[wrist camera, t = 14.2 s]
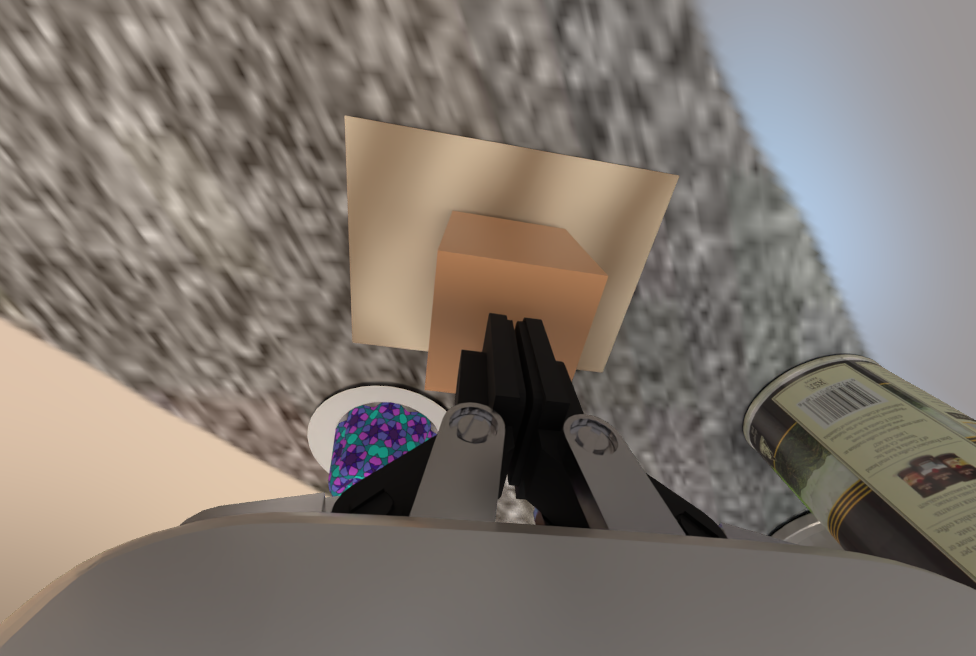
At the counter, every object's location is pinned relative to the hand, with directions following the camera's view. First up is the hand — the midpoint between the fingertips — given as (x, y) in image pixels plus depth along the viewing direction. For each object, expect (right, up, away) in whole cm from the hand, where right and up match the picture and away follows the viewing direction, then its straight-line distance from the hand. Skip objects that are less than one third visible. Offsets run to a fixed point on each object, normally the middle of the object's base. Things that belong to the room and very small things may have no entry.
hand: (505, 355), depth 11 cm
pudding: (-9, -8, +17) cm, 20 cm away
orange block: (0, +4, +7) cm, 8 cm away
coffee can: (+24, -5, +16) cm, 29 cm away
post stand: (0, +5, +9) cm, 10 cm away
